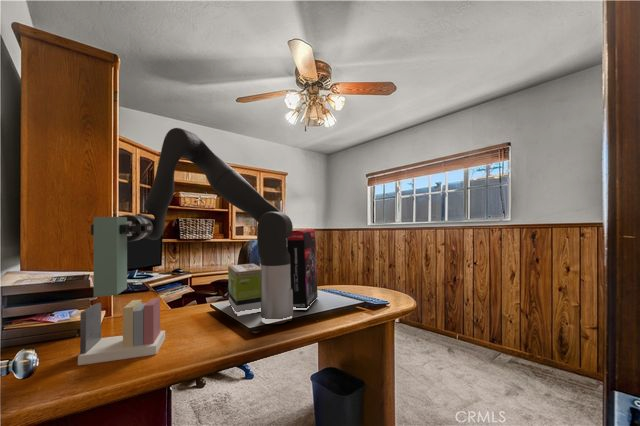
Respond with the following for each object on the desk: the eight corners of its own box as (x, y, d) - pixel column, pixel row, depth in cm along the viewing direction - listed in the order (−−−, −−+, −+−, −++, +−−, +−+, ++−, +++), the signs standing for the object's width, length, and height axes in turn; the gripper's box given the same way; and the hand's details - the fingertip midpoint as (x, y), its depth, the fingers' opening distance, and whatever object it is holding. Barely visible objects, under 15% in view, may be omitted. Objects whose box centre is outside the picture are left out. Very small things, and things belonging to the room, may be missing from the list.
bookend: (100, 339, 71) (101, 302, 71) (85, 353, 63) (85, 312, 64) (96, 340, 71) (96, 303, 71) (80, 354, 63) (80, 312, 63)
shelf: (165, 338, 76) (165, 296, 76) (156, 354, 66) (156, 306, 67) (97, 346, 71) (98, 302, 72) (77, 365, 62) (78, 313, 62)
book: (127, 288, 73) (126, 217, 73) (116, 295, 66) (116, 216, 66) (106, 289, 71) (106, 217, 72) (93, 297, 65) (93, 217, 65)
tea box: (227, 305, 105) (227, 265, 106) (255, 301, 110) (254, 262, 110) (236, 317, 92) (235, 270, 92) (266, 312, 96) (266, 268, 97)
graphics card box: (307, 312, 95) (305, 230, 96) (287, 311, 96) (285, 230, 97) (318, 298, 112) (316, 228, 113) (300, 298, 113) (299, 229, 114)
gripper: (102, 215, 81) (71, 213, 65) (159, 214, 86) (143, 213, 70) (102, 241, 81) (71, 247, 65) (159, 240, 86) (143, 244, 69)
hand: (108, 229), depth 67 cm, fingers closed on book, 4 cm apart
